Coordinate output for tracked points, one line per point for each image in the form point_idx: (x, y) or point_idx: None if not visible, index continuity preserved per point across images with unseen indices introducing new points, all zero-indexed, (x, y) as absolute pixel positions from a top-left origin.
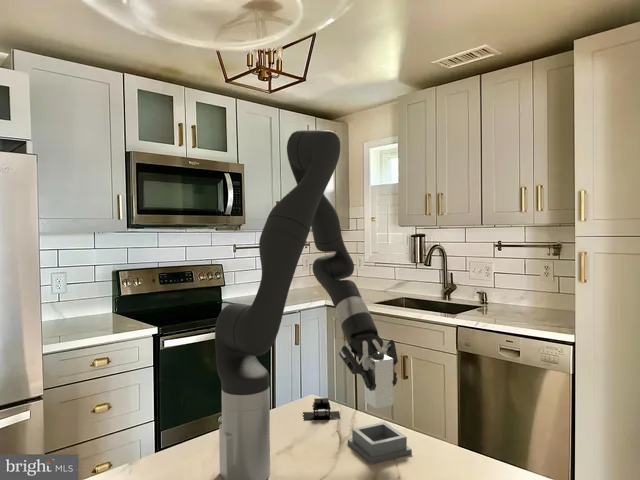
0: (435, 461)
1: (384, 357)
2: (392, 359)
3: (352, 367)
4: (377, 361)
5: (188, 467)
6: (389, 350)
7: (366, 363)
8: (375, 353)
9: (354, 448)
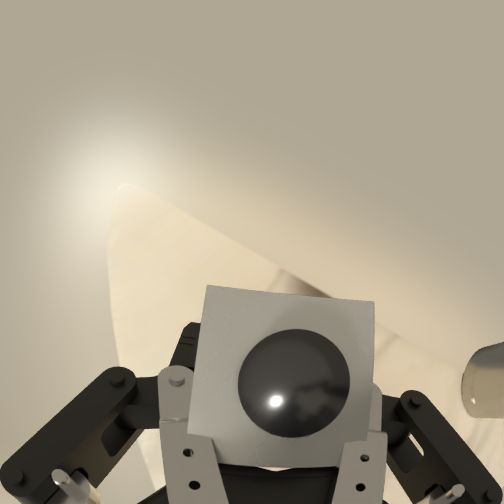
0: (186, 267)
1: (247, 351)
2: (214, 286)
3: (401, 450)
4: (353, 302)
5: None
6: (82, 465)
7: None
8: (337, 376)
9: None
